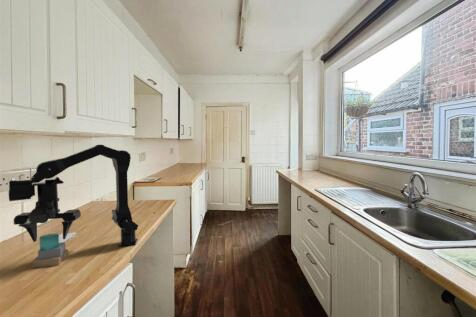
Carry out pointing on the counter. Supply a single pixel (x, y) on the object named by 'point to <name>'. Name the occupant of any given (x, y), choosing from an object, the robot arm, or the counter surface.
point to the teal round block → (49, 241)
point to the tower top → (52, 252)
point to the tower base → (49, 261)
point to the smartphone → (66, 237)
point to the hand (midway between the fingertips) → (49, 240)
